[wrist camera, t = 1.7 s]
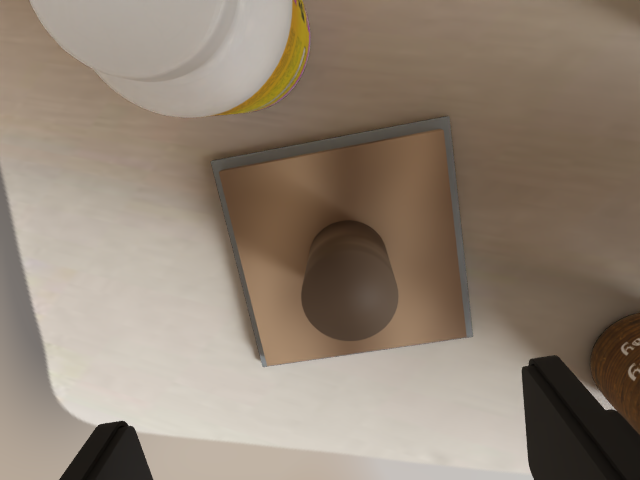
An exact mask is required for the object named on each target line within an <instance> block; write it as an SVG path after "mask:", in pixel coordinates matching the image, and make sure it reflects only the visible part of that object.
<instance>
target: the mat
mask: <svg viewBox="0 0 640 480" xmlns="http://www.w3.org/2000/svg"><path fill="white" fill-rule="evenodd" d="M437 129H442V130H444V138H445V147H446V156H447V165H448V174H449V183H450V192H451V200H452V209H453V218H454V227H455V236H456V245H457V254H458V263H459V272H460V281H461V290H462V299H463V308H464V317H465V326H466V335H467V337H465V338H468V337H473V332H472V322H471V313H470V304H469V294H468V285H467V276H466V266H465V257H464V248H463V238H462V229H461V220H460V211H459V201H458V192H457V183H456V173H455V164H454V155H453V145H452V136H451V127H450V117H449V116H445V117H440V118H435V119H429V120H424V121H419V122H414V123H408V124H403V125H398V126H392V127H387V128H382V129H377V130H371V131H366V132H361V133H356V134H350V135H345V136H340V137H334V138H329V139H324V140H319V141H313V142H308V143H303V144H297V145H292V146H287V147H282V148H276V149H271V150H266V151H261V152H255V153H250V154H245V155H239V156H234V157H229V158H224V159H218V160H213V161H211V165H212V169H213V173H214V177H215V181H216V185H217V189H218V193H219V197H220V200H221V204H222V208H223V212H224V216H225V220H226V224H227V228H228V232H229V236H230V240H231V244H232V248H233V252H234V256H235V260H236V264H237V268H238V272H239V275H240V279H241V283H242V287H243V291H244V295H245V299H246V303H247V307H248V311H249V315H250V319H251V323H252V327H253V331H254V335H255V339H256V343H257V346H258V350H259V354H260V358H261V362H262V366H263V367H267V363H266V359H265V355H264V351H263V347H262V343H261V339H260V335H259V331H258V327H257V323H256V319H255V315H254V311H253V307H252V303H251V299H250V295H249V291H248V287H247V283H246V279H245V275H244V271H243V267H242V263H241V259H240V255H239V251H238V247H237V243H236V239H235V235H234V231H233V227H232V223H231V219H230V215H229V211H228V207H227V203H226V199H225V195H224V191H223V187H222V183H221V179H220V175H219V171H221V170H223V169H229V168H234V167H239V166H245V165H250V164H255V163H261V162H266V161H271V160H277V159H282V158H287V157H293V156H298V155H303V154H309V153H314V152H319V151H325V150H330V149H336V148H341V147H346V146H352V145H357V144H362V143H368V142H373V141H378V140H384V139H389V138H394V137H400V136H405V135H410V134H416V133H421V132H426V131H432V130H437ZM458 339H461V338H458ZM451 340H454V339H451ZM444 341H448V340H444ZM437 342H441V341H437ZM430 343H434V342H430ZM423 344H427V343H423ZM416 345H420V344H416ZM409 346H413V345H409ZM402 347H406V346H402ZM395 348H399V347H395ZM389 349H392V348H389ZM382 350H385V349H382ZM375 351H378V350H375ZM368 352H371V351H368ZM361 353H364V352H361ZM354 354H358V353H354ZM347 355H351V354H347ZM340 356H344V355H340ZM333 357H337V356H333ZM326 358H330V357H326ZM319 359H323V358H319ZM312 360H316V359H312ZM305 361H309V360H305ZM299 362H302V361H299ZM292 363H295V362H292ZM285 364H288V363H285ZM278 365H281V364H278ZM271 366H274V365H271Z"/></svg>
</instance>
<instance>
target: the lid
mask: <svg viewBox="0 0 640 480" xmlns="http://www.w3.org/2000/svg"><path fill="white" fill-rule="evenodd" d="M219 175H220V179H221V183H222V187H223V191H224V195H225V199H226V203H227V207H228V211H229V215H230V219H231V223H232V227H233V231H234V235H235V239H236V243H237V247H238V251H239V255H240V259H241V263H242V267H243V271H244V275H245V279H246V283H247V287H248V291H249V295H250V299H251V303H252V307H253V311H254V315H255V319H256V323H257V327H258V331H259V335H260V339H261V343H262V347H263V351H264V355H265V359H266V363H267V366H271V365H278V364H285V363H292V362H299V361H305V360H312V359H319V358H326V357H333V356H340V355H347V354H354V353H361V352H368V351H375V350H382V349H389V348H395V347H402V346H409V345H416V344H423V343H430V342H437V341H444V340H451V339H458V338H465V337H467V335H466V326H465V317H464V308H463V299H462V290H461V281H460V272H459V263H458V254H457V245H456V236H455V227H454V218H453V209H452V200H451V192H450V183H449V174H448V165H447V156H446V147H445V138H444V130H442V129H437V130H432V131H426V132H421V133H416V134H410V135H405V136H400V137H394V138H389V139H384V140H378V141H373V142H368V143H362V144H357V145H352V146H346V147H341V148H336V149H330V150H325V151H319V152H314V153H309V154H303V155H298V156H293V157H287V158H282V159H277V160H271V161H266V162H261V163H255V164H250V165H245V166H239V167H234V168H229V169H223V170H221V171H219Z"/></svg>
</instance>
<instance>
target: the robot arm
mask: <svg viewBox="0 0 640 480" xmlns="http://www.w3.org/2000/svg"><path fill="white" fill-rule="evenodd" d="M522 382H523V396H524V409H525V423H526V436H527V450H528V462H529V467H530V470H531V473H532V476H533V478H534V480H640V435H639V434H638V432H637V431H636V430H635V429H634V428H633V427H632V426H631V425H630V424H629V423H628V422H627V420H626V419H625V418H624V417H623V416H622V415H621V414H619V413H618V412H617V411H615V410H612V409H611V410H605V409H604V408H603V407H602V406H601V405H600V403H599V402H598V401H597V400H596V399H595V398H594V397H593V395H592V394H591V393H590V392H589V391H588V390H587V389H586V388H585V386H584V385H583V384H582V383H581V382H580V381H579V380H578V378H577V377H576V376H575V375H574V374H573V373H572V372H571V371H570V369H569V368H568V367H567V366H566V365H565V364H564V363H563V362H562V360H561V359H560V358H559V357H558V356H555V355H553V356H547V357H540V358H534V359H530V360H529V366H525V367H523V368H522ZM59 480H153V478H152V475H151V472H150V469H149V467H148V464H147V461H146V458H145V455H144V453H143V450H142V447H141V444H140V442H139V439H138V436H137V433H136V431H135V429H134V427H133V426H128V424H127V423H126V422H125V421H118V422H112V423H105V424H100V425H98V426H97V427H96V428H95V430H94V431H93V433H92V434H91V435H90V437H89V439H88V440H87V441H86V443H85V444H84V445H83V447H82V448H81V450H80V451H79V452H78V454H77V455H76V457H75V458H74V460H73V461H72V462H71V464H70V465H69V467H68V468H67V469H66V471H65V472H64V474H63V475H62V476H61V478H60V479H59Z"/></svg>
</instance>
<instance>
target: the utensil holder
mask: <svg viewBox="0 0 640 480" xmlns="http://www.w3.org/2000/svg"><path fill="white" fill-rule="evenodd" d="M590 366H591V373H592V376H593V379H594V381H595V383H596V385H597V387H598V388H599V390H600V391H601V393H602V394H603V395H604V396H605V398H606V399H607V400H608V401H609V402H610V404H611V405H612V406H613V407H614V408H615V409H616V410H617V412H618V413H619V414H621V415H622V416H623V417H624V418H625V419H626V420H627V422H628V423H629V424H630V425H631V426H632V427H633V428H634V429H635V430H636V431H637V432H638V434H639V435H640V313H637V314H633V315H630V316H627V317H625V318H623V319H621V320H619V321H617V322H616V323H614V324H613V325H611V326H610V327H609V328H608V329H607V330H605V331H604V333H603V334H602V335H601V336H600V337H599V339H598V340H597V342H596V344H595V346H594V348H593V351H592V354H591V361H590Z"/></svg>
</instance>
